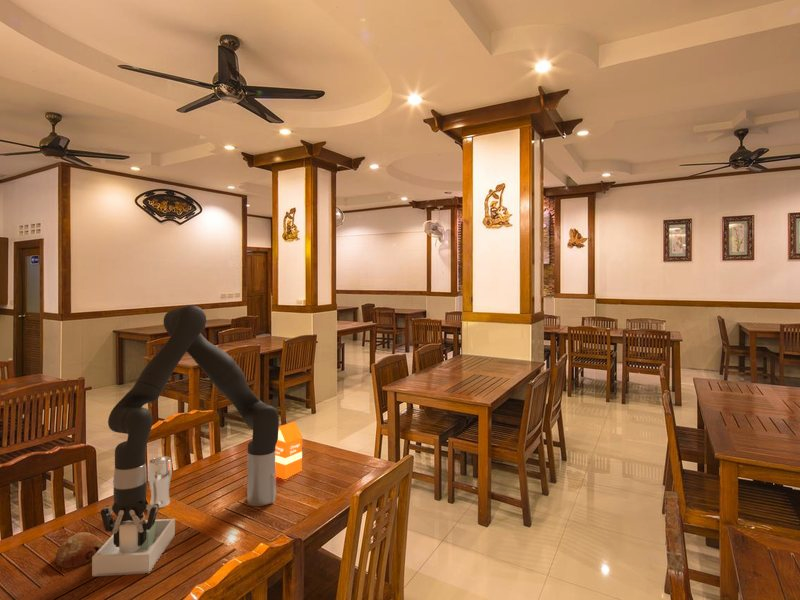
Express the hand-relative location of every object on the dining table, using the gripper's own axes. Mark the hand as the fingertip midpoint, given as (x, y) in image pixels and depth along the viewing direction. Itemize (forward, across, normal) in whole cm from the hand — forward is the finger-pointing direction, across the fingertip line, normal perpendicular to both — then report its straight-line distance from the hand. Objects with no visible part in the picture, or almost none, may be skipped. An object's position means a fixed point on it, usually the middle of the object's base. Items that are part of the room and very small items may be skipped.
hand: (130, 544), depth 120 cm
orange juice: (+5, -34, -54) cm, 64 cm away
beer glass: (+5, +5, -32) cm, 33 cm away
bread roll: (+5, +14, -4) cm, 16 cm away
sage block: (+4, 0, -7) cm, 8 cm away
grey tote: (+5, 0, -4) cm, 6 cm away
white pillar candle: (+1, 0, 0) cm, 1 cm away
